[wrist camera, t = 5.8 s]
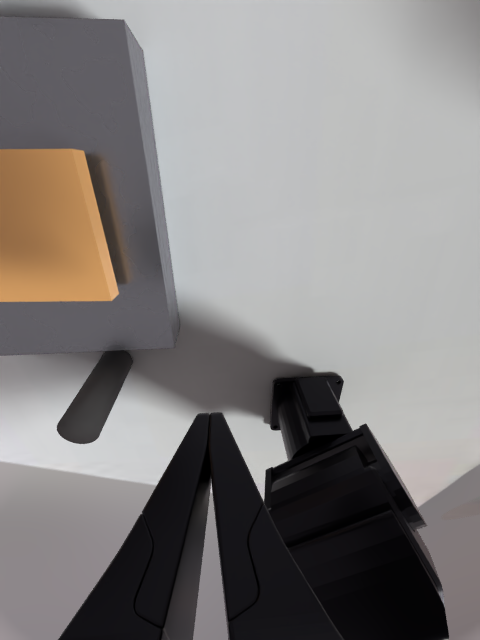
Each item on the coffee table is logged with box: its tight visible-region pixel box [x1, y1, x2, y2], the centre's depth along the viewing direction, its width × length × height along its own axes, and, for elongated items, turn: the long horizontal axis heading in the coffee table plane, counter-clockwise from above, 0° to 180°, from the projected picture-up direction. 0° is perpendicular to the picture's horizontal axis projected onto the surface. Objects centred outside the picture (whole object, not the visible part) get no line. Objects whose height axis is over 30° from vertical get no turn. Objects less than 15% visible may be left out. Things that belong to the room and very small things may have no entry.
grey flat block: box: [0, 16, 180, 356], centre depth 15 cm, size 16×12×3 cm
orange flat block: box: [0, 149, 119, 302], centre depth 13 cm, size 7×8×1 cm
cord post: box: [57, 350, 133, 444], centre depth 19 cm, size 2×2×7 cm
